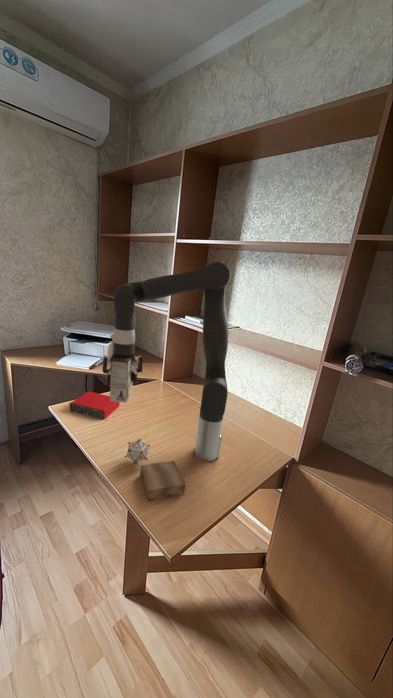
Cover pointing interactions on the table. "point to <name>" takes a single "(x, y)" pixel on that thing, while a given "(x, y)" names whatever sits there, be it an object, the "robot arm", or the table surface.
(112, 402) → the red device housing
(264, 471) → the table surface
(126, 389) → the coffee box
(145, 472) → the walnut plinth
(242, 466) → the table surface
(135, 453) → the game die
